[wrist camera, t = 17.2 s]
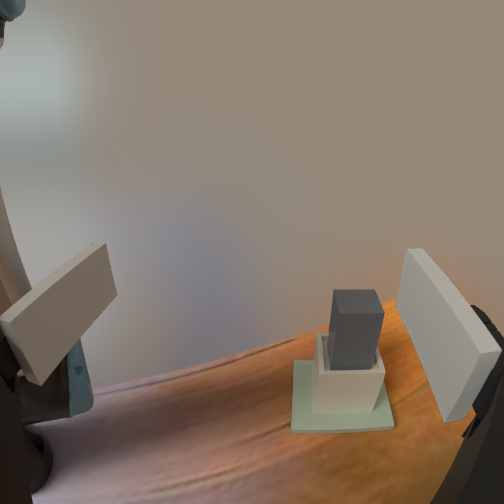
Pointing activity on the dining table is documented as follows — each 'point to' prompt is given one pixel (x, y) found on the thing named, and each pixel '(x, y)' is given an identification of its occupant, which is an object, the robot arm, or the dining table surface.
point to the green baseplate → (333, 422)
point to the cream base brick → (344, 383)
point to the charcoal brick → (354, 329)
